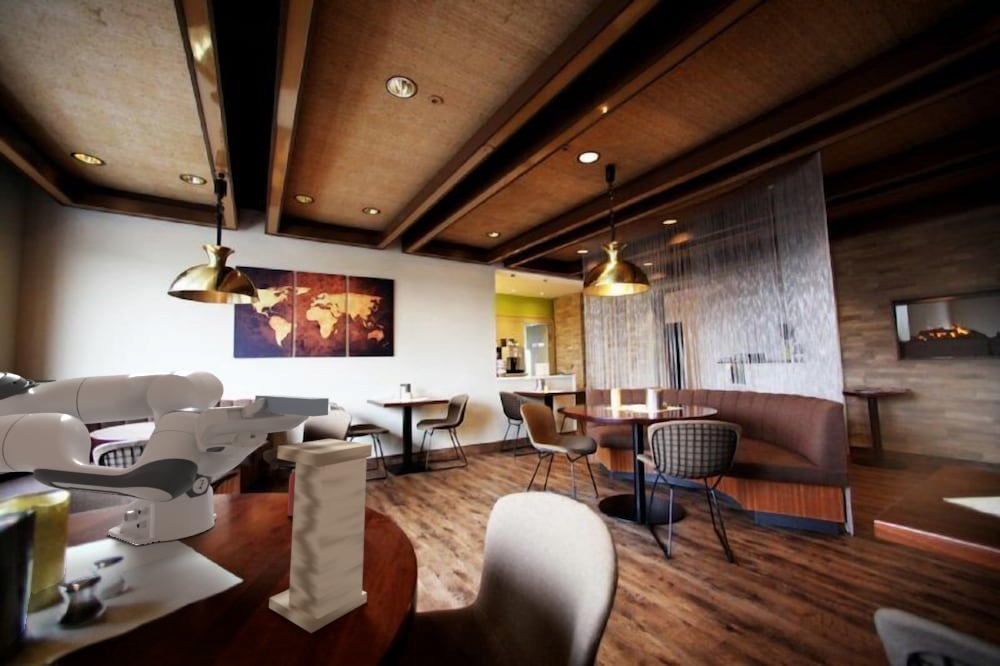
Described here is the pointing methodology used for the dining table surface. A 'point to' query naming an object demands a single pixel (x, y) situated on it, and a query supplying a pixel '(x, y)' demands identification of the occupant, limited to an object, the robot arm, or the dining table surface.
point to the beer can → (291, 493)
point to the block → (295, 405)
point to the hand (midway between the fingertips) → (275, 401)
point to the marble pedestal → (325, 532)
